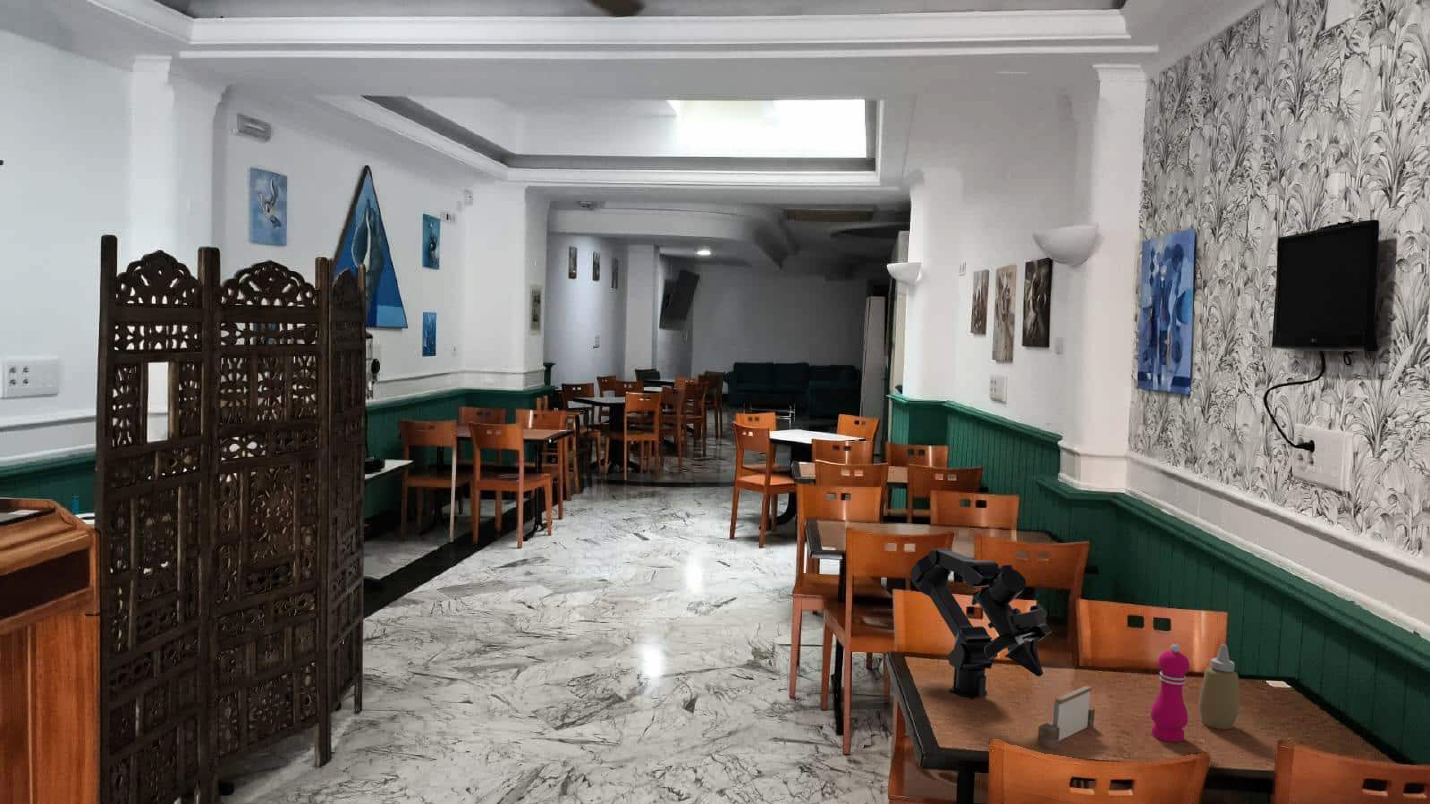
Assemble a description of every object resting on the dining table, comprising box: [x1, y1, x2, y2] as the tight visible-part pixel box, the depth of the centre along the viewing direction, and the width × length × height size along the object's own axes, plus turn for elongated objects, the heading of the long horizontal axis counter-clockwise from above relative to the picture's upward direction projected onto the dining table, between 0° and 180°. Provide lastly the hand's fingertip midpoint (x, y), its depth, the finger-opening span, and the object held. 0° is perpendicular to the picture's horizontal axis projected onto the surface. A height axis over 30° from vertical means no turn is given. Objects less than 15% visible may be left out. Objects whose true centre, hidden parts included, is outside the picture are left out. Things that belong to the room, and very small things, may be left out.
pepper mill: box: [1150, 643, 1190, 743], centre depth 209 cm, size 7×7×20 cm
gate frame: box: [1036, 706, 1096, 751], centre depth 207 cm, size 3×19×4 cm, turn 132°
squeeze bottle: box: [1198, 643, 1240, 730], centre depth 217 cm, size 8×8×18 cm
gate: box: [1052, 685, 1092, 742], centre depth 207 cm, size 1×14×9 cm, turn 133°
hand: (1040, 675), depth 212 cm, fingers closed
